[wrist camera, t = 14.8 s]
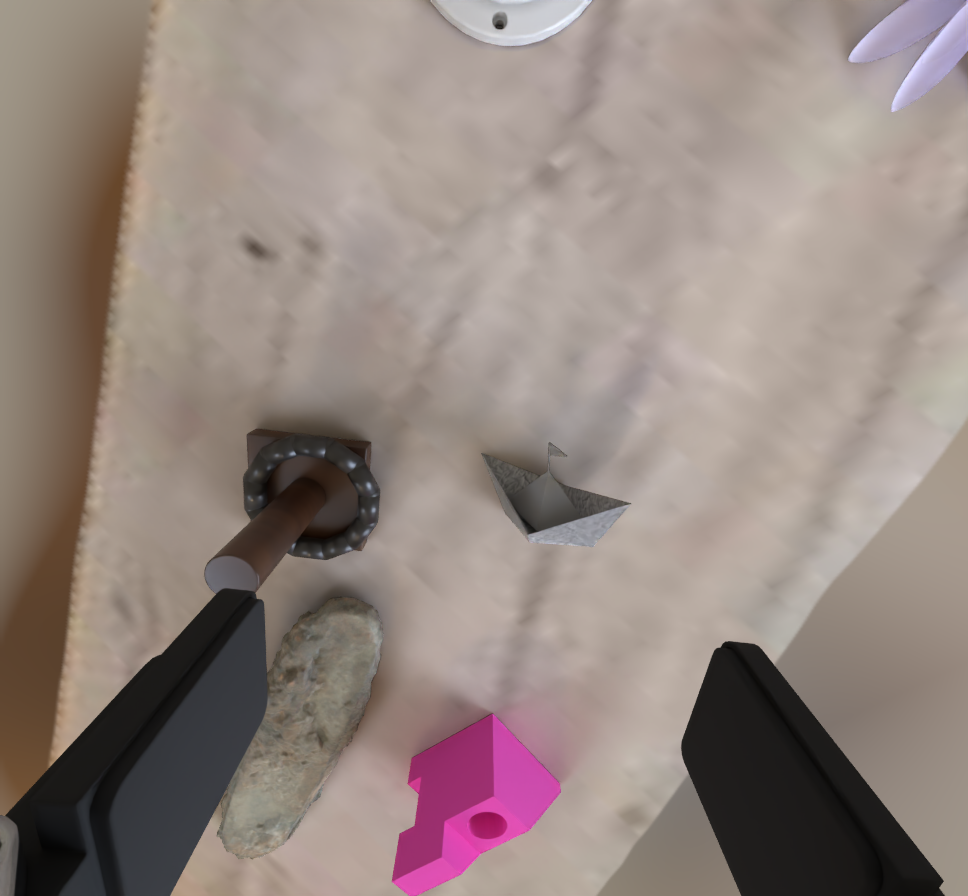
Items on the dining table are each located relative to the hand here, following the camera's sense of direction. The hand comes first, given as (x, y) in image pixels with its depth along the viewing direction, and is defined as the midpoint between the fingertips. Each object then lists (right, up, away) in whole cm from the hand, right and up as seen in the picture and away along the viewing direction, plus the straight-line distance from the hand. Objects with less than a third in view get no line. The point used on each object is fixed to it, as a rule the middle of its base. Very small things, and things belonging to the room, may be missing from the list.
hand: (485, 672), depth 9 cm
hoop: (-13, +1, +25) cm, 28 cm away
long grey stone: (-18, -23, +36) cm, 46 cm away
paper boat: (+5, +2, +27) cm, 28 cm away
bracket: (0, -29, +38) cm, 47 cm away
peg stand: (-14, +1, +27) cm, 31 cm away
